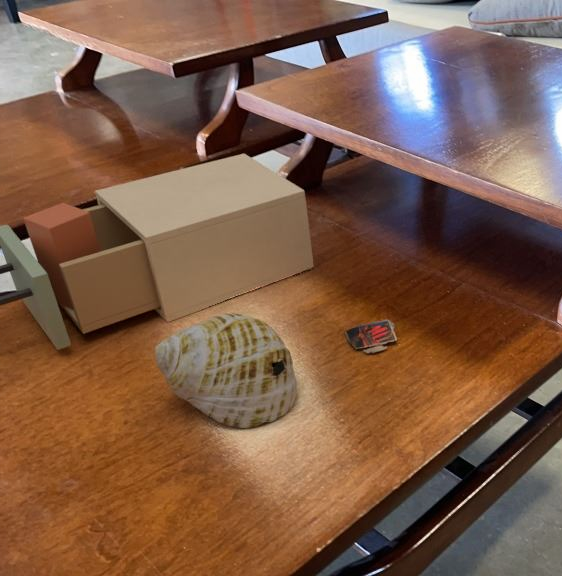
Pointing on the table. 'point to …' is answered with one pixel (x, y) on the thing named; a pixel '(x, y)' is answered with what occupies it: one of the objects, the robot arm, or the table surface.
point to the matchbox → (372, 335)
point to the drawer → (85, 279)
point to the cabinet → (214, 230)
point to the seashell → (230, 369)
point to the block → (61, 242)
